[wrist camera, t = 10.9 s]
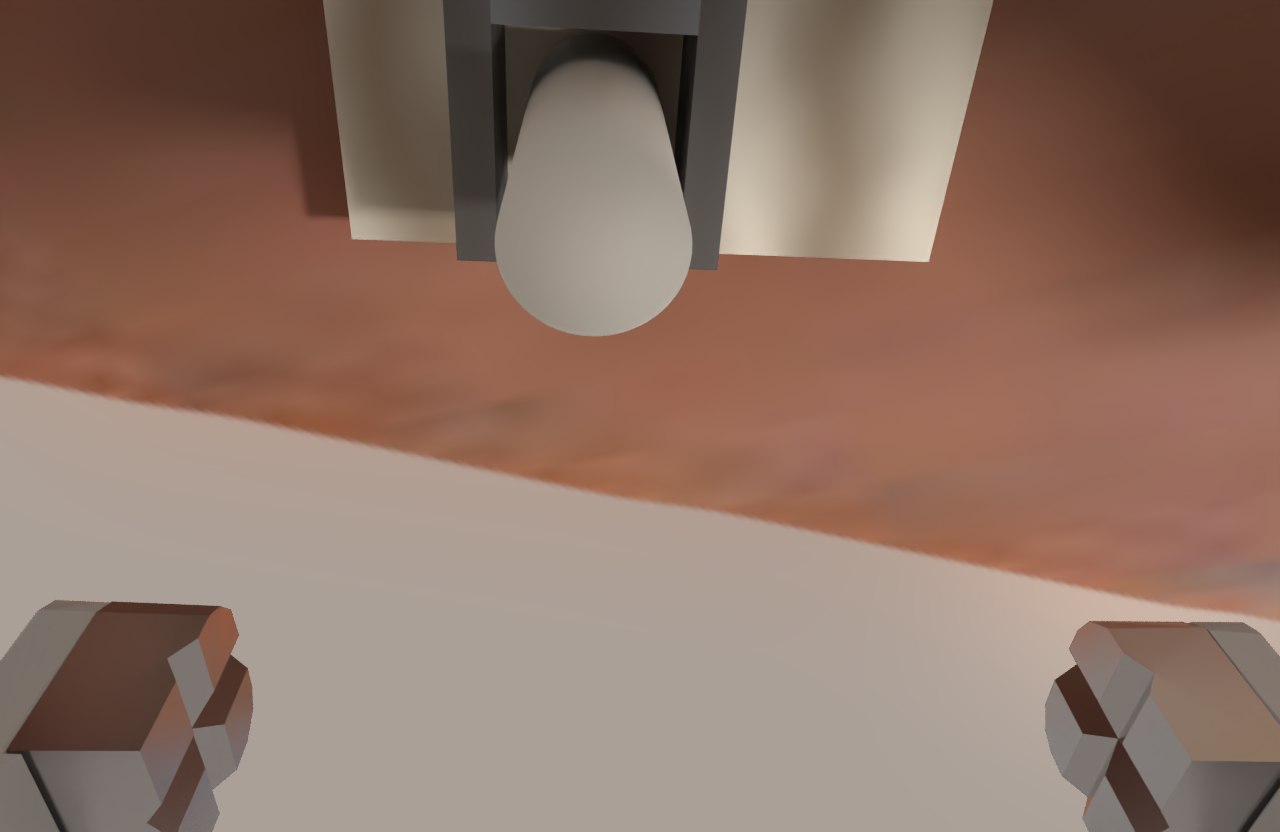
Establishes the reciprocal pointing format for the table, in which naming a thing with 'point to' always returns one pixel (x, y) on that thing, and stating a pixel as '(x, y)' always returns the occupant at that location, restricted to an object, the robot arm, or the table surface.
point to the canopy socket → (668, 114)
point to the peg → (593, 194)
